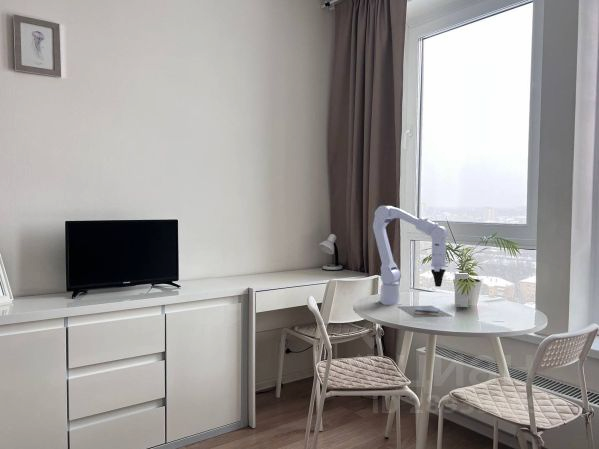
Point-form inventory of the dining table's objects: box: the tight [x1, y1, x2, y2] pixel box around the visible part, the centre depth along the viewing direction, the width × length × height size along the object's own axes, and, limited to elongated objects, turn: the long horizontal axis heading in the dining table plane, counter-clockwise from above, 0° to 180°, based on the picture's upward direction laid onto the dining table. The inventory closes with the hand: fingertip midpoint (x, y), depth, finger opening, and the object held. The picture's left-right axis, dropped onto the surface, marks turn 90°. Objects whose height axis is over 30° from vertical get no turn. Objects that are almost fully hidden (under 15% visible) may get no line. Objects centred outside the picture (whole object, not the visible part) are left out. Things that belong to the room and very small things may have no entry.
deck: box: [415, 307, 440, 316], centre depth 188 cm, size 9×2×6 cm
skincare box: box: [454, 271, 470, 308], centre depth 204 cm, size 8×6×15 cm
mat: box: [396, 305, 453, 318], centre depth 192 cm, size 20×16×1 cm
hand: (438, 286), depth 196 cm, fingers closed
